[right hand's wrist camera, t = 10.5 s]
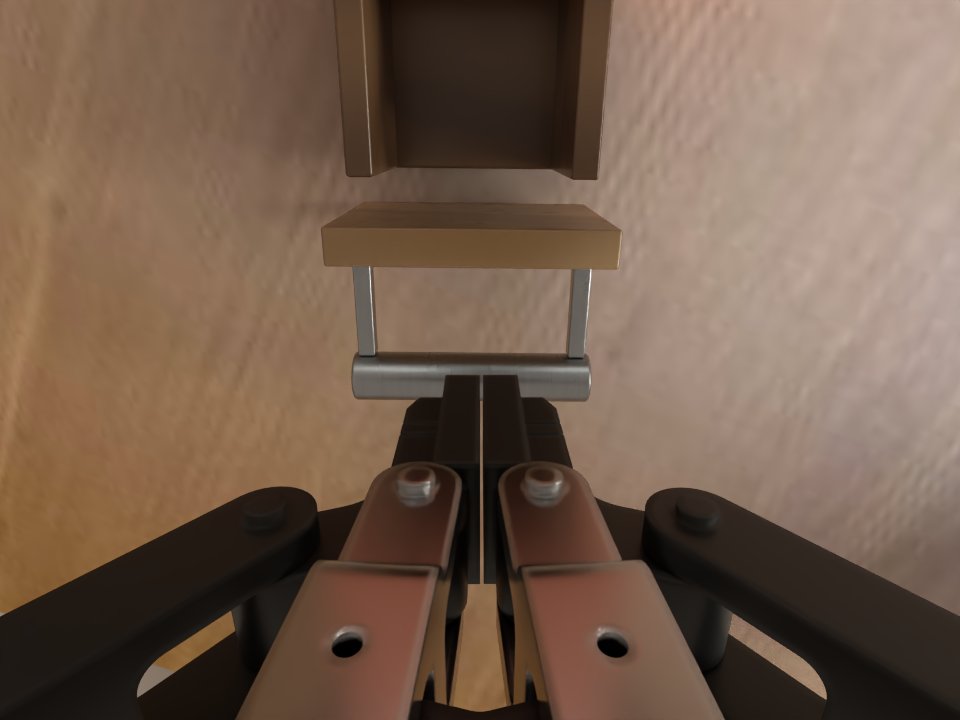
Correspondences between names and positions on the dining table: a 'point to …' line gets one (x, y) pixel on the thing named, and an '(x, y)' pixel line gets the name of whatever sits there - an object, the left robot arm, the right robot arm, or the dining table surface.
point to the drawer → (472, 165)
